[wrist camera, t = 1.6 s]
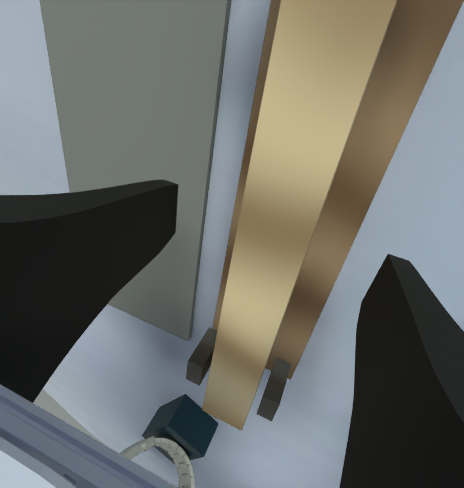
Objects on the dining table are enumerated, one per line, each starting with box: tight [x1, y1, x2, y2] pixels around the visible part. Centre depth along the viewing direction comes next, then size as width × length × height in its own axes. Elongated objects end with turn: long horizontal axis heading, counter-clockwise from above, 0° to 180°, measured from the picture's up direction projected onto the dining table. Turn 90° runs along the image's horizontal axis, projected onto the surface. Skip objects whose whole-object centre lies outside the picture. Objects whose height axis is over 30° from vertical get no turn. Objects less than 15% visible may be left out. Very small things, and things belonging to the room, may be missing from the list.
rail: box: [202, 0, 398, 431], centre depth 11 cm, size 24×2×2 cm, turn 171°
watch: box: [119, 394, 218, 488], centre depth 27 cm, size 6×8×11 cm
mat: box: [40, 0, 231, 341], centre depth 18 cm, size 30×10×1 cm, turn 171°
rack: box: [186, 0, 464, 421], centre depth 13 cm, size 26×6×6 cm, turn 171°
